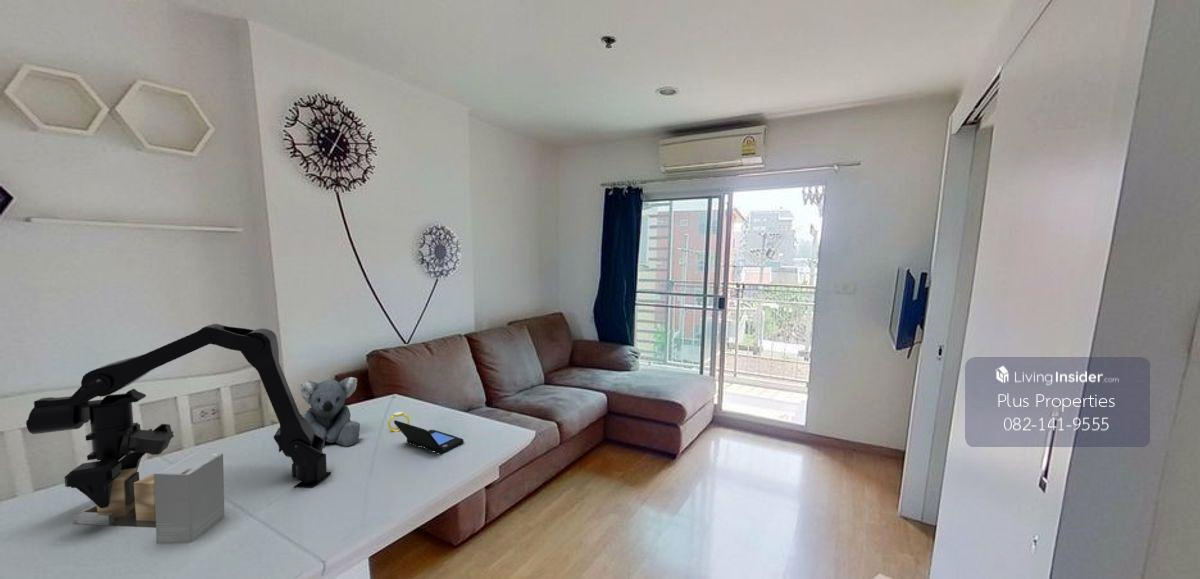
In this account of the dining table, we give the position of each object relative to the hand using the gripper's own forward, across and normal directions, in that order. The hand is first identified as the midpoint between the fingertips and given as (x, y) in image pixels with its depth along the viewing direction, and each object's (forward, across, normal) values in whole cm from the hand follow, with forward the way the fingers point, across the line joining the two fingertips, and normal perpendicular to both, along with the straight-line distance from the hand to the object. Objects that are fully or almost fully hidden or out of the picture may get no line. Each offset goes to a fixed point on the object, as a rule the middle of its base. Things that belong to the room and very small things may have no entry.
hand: (117, 495), depth 87 cm
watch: (+5, +24, -54) cm, 60 cm away
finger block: (+4, 0, 0) cm, 4 cm away
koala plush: (+5, +26, -35) cm, 44 cm away
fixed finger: (+4, -5, -8) cm, 10 cm away
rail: (+5, -2, -4) cm, 7 cm away
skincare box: (+5, -15, -16) cm, 23 cm away
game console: (+6, +8, -62) cm, 63 cm away
